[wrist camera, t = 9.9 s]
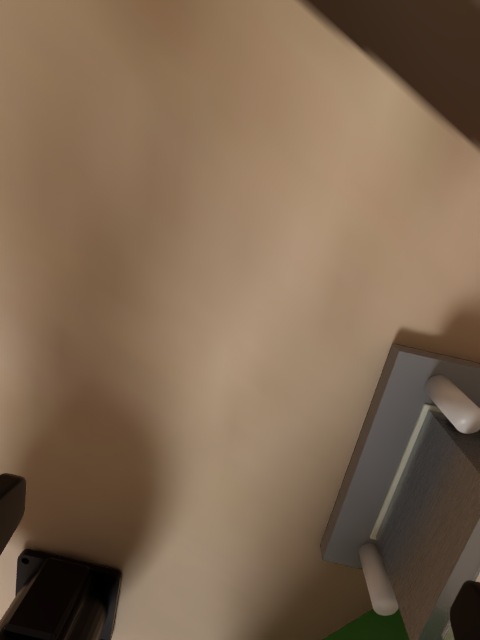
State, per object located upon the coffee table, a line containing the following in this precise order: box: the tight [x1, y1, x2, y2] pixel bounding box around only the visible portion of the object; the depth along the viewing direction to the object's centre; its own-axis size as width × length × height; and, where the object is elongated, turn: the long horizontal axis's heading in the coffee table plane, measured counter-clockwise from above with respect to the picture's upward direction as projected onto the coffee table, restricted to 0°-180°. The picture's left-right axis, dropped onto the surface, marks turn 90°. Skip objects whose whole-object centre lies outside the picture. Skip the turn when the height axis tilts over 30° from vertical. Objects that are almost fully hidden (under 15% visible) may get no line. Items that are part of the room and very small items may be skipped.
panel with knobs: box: [320, 344, 480, 616], centre depth 19 cm, size 13×9×4 cm
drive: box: [376, 410, 480, 640], centre depth 17 cm, size 8×4×6 cm, turn 168°
